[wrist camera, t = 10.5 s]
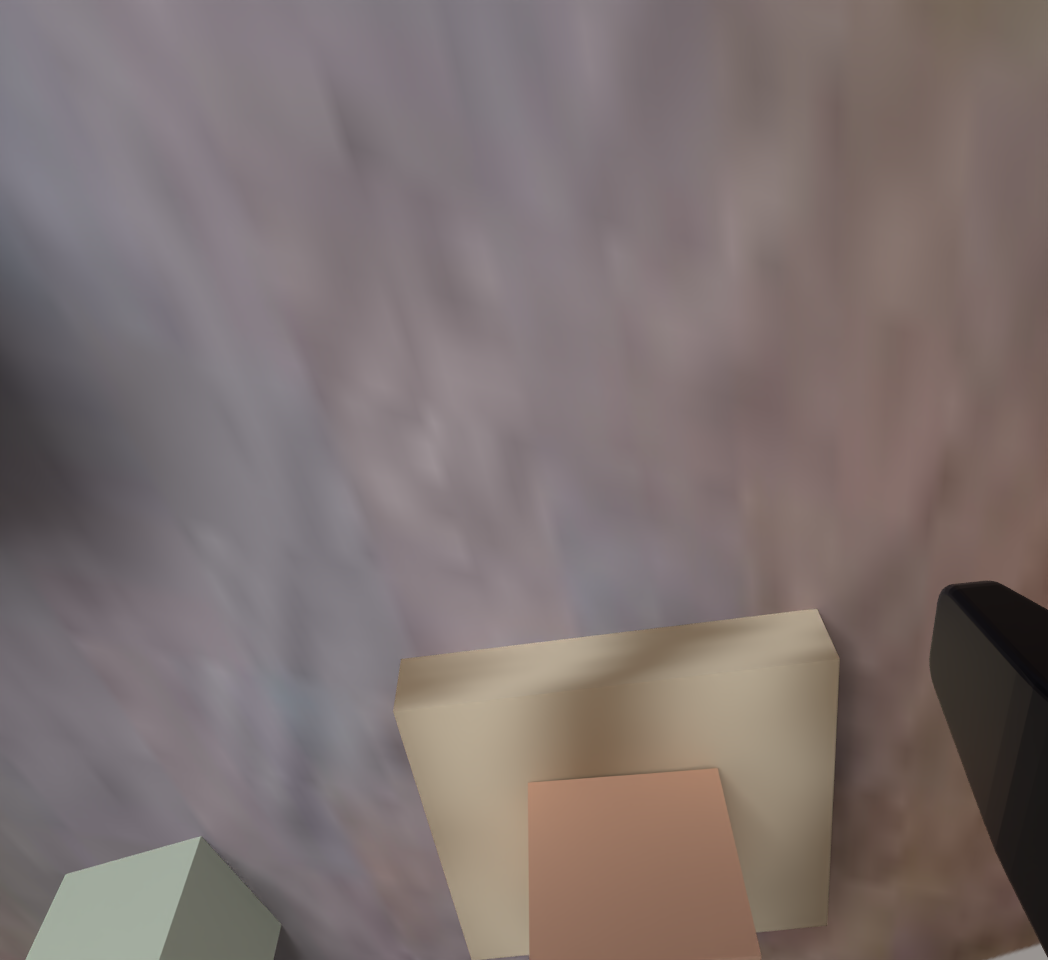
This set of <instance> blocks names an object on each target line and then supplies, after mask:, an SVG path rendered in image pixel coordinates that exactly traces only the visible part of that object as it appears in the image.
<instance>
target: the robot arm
mask: <svg viewBox="0 0 1048 960" xmlns="http://www.w3.org/2000/svg"><path fill="white" fill-rule="evenodd" d="M929 662H930V673H931V678H932V682H933V685H934V688H935V691H936V694H937V696H938V699H939V702H940V705H941V707H942V710H943V713H944V715H945V718H946V721H947V724H948V726H949V729H950V732H951V734H952V737H953V740H954V743H955V745H956V748H957V751H958V753H959V756H960V759H961V762H962V764H963V767H964V770H965V772H966V775H967V778H968V781H969V783H970V786H971V789H972V791H973V794H974V797H975V800H976V802H977V805H978V808H979V810H980V813H981V816H982V819H983V821H984V824H985V826H986V829H987V831H988V834H989V836H990V839H991V841H992V844H993V847H994V849H995V851H996V854H997V856H998V858H999V860H1000V862H1001V864H1002V866H1003V868H1004V871H1005V873H1006V875H1007V877H1008V879H1009V881H1010V883H1011V885H1012V887H1013V889H1014V891H1015V893H1016V895H1017V897H1018V899H1019V901H1020V903H1021V905H1022V907H1023V909H1024V911H1025V913H1026V915H1027V917H1028V919H1029V921H1030V923H1031V925H1032V927H1033V929H1034V931H1035V933H1036V935H1037V937H1038V939H1039V941H1040V943H1041V945H1042V947H1043V949H1044V951H1045V953H1046V955H1047V957H1048V610H1047V609H1045V608H1044V607H1042V606H1040V605H1038V604H1036V603H1035V602H1033V601H1031V600H1029V599H1028V598H1026V597H1024V596H1022V595H1020V594H1019V593H1017V592H1015V591H1013V590H1011V589H1010V588H1008V587H1006V586H1004V585H1002V584H1000V583H998V582H994V581H979V582H969V583H960V584H951V585H948V586H947V587H945V588H944V589H943V590H942V591H941V593H940V595H939V598H938V602H937V609H936V616H935V623H934V630H933V636H932V643H931V650H930V658H929Z"/></svg>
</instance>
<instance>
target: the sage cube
mask: <svg viewBox="0 0 1048 960" xmlns="http://www.w3.org/2000/svg"><path fill="white" fill-rule="evenodd" d="M280 929H281V924H280V922H279V921H278V920H277V919H276V918H275V917H274V916H273V915H272V914H271V913H270V911H269V910H268V909H267V908H266V907H265V906H264V905H263V904H262V903H261V902H260V900H259V899H258V898H257V897H256V896H255V895H254V894H253V893H252V892H251V891H250V889H249V888H248V887H247V886H246V885H245V884H244V883H243V882H242V881H241V880H240V879H239V877H238V876H237V875H236V874H235V873H234V872H233V871H232V870H231V869H230V868H229V866H228V865H227V864H226V863H225V862H224V861H223V860H222V859H221V858H220V857H219V855H218V854H217V853H216V852H215V851H214V850H213V849H212V848H211V847H210V846H209V844H208V843H207V842H206V841H205V840H204V839H203V838H202V837H201V836H200V837H197V838H193V839H190V840H186V841H182V842H179V843H175V844H172V845H168V846H165V847H161V848H158V849H154V850H151V851H147V852H143V853H140V854H136V855H133V856H129V857H126V858H122V859H119V860H115V861H111V862H108V863H104V864H101V865H97V866H94V867H90V868H87V869H83V870H80V871H76V872H72V873H69V874H66V875H65V877H64V879H63V881H62V883H61V885H60V887H59V889H58V892H57V894H56V896H55V898H54V900H53V902H52V904H51V907H50V909H49V911H48V913H47V915H46V917H45V919H44V921H43V924H42V926H41V928H40V930H39V932H38V934H37V936H36V938H35V941H34V943H33V945H32V947H31V949H30V951H29V953H28V956H27V958H26V960H274V955H275V951H276V946H277V942H278V938H279V933H280Z"/></svg>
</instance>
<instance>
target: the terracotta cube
mask: <svg viewBox="0 0 1048 960" xmlns="http://www.w3.org/2000/svg"><path fill="white" fill-rule="evenodd" d="M528 856H529V960H761V952H760V947H759V943H758V939H757V935H756V930H755V926H754V922H753V917H752V913H751V909H750V905H749V900H748V896H747V892H746V888H745V883H744V879H743V875H742V870H741V866H740V862H739V858H738V853H737V849H736V845H735V840H734V836H733V832H732V828H731V823H730V819H729V815H728V811H727V806H726V802H725V798H724V793H723V789H722V785H721V781H720V776H719V772H718V768H714V769H701V770H688V771H675V772H662V773H648V774H635V775H622V776H609V777H596V778H583V779H569V780H556V781H543V782H530V783H528Z"/></svg>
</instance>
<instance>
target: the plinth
mask: <svg viewBox="0 0 1048 960" xmlns="http://www.w3.org/2000/svg"><path fill="white" fill-rule="evenodd" d="M839 662H840V659H839V656H838V654H837V652H836V650H835V648H834V645H833V643H832V641H831V639H830V637H829V634H828V632H827V630H826V628H825V626H824V623H823V621H822V619H821V617H820V614H819V612H818V610H817V609H811V610H802V611H794V612H786V613H778V614H769V615H761V616H753V617H745V618H737V619H728V620H720V621H712V622H704V623H695V624H687V625H679V626H671V627H662V628H654V629H646V630H638V631H629V632H621V633H613V634H605V635H597V636H588V637H580V638H572V639H564V640H555V641H547V642H539V643H531V644H522V645H514V646H506V647H498V648H489V649H481V650H473V651H465V652H456V653H448V654H440V655H432V656H424V657H415V658H407V659H401V664H400V670H399V677H398V683H397V690H396V697H395V703H394V710H393V712H394V716H395V719H396V722H397V725H398V728H399V731H400V735H401V738H402V741H403V744H404V747H405V750H406V753H407V757H408V760H409V763H410V766H411V769H412V772H413V776H414V779H415V782H416V785H417V788H418V791H419V795H420V798H421V801H422V804H423V807H424V810H425V814H426V817H427V820H428V823H429V826H430V829H431V833H432V836H433V839H434V842H435V845H436V848H437V852H438V855H439V858H440V861H441V864H442V867H443V871H444V874H445V877H446V880H447V883H448V886H449V890H450V893H451V896H452V899H453V902H454V905H455V909H456V912H457V915H458V918H459V921H460V924H461V928H462V931H463V934H464V937H465V940H466V943H467V947H468V950H469V953H470V956H471V959H472V960H481V959H492V958H502V957H512V956H522V955H529V856H528V783H530V782H543V781H556V780H569V779H583V778H596V777H609V776H622V775H635V774H648V773H662V772H675V771H688V770H701V769H714V768H718V772H719V776H720V781H721V785H722V789H723V793H724V798H725V802H726V806H727V811H728V815H729V819H730V823H731V828H732V832H733V836H734V840H735V845H736V849H737V853H738V858H739V862H740V866H741V870H742V875H743V879H744V883H745V888H746V892H747V896H748V900H749V905H750V909H751V913H752V917H753V922H754V926H755V930H756V932H767V931H777V930H787V929H797V928H807V927H818V926H827V918H828V897H829V875H830V854H831V833H832V811H833V790H834V769H835V747H836V726H837V704H838V683H839Z"/></svg>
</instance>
